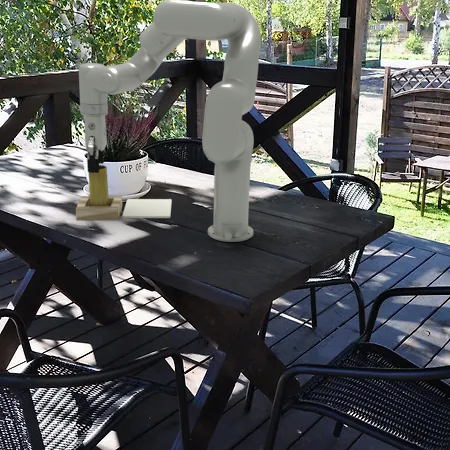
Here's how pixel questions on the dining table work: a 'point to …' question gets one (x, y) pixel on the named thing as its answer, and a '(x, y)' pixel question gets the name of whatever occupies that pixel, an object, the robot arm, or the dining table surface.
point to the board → (147, 208)
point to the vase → (99, 187)
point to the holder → (99, 209)
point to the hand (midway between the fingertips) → (96, 167)
